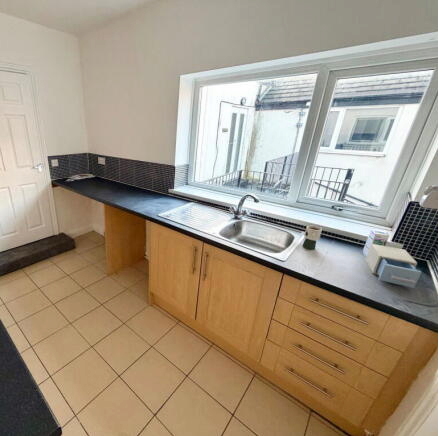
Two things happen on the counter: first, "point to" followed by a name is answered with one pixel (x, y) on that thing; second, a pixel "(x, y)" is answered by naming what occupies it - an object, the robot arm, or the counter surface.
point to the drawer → (398, 272)
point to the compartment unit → (386, 256)
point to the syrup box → (375, 239)
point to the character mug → (311, 237)
